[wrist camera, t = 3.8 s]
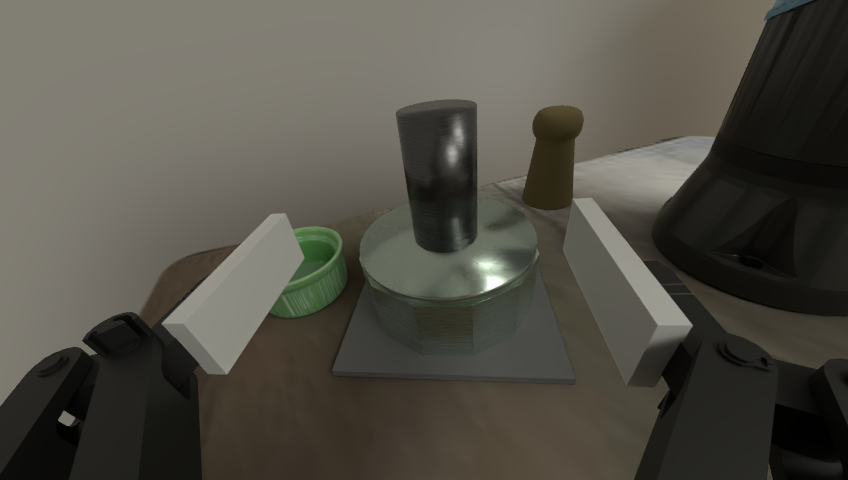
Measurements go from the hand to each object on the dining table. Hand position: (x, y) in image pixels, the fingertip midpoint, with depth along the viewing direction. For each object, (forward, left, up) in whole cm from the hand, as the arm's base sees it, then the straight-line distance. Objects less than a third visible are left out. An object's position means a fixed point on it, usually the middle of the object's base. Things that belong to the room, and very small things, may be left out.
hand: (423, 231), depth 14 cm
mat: (0, -7, -12) cm, 14 cm away
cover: (0, -7, -11) cm, 13 cm away
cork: (-12, -24, -12) cm, 30 cm away
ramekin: (+14, -8, -12) cm, 20 cm away
